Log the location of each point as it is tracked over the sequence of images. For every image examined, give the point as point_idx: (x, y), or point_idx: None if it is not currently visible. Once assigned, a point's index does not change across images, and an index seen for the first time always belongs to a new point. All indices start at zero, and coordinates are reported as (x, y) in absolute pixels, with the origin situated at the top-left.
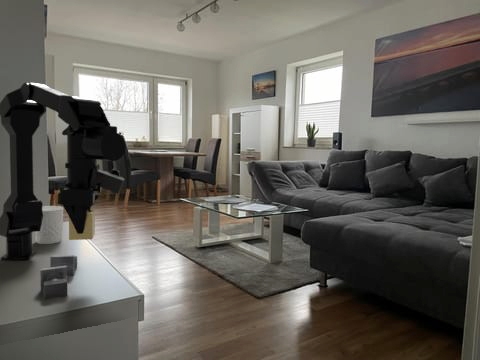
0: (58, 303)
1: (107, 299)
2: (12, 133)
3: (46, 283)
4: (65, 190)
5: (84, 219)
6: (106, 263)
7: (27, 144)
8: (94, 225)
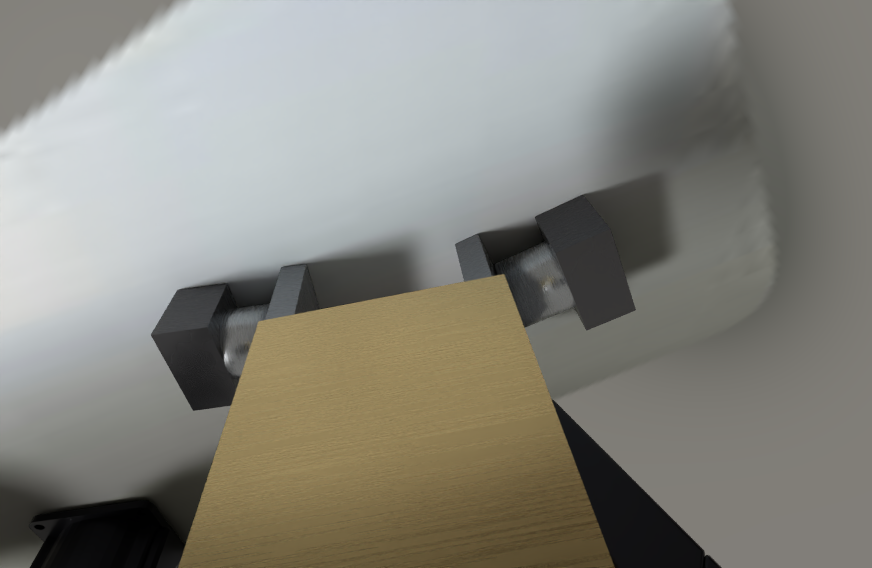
0: (663, 201)
1: None
2: None
3: (610, 312)
4: None
5: (701, 557)
6: (25, 143)
7: None
8: (269, 401)
